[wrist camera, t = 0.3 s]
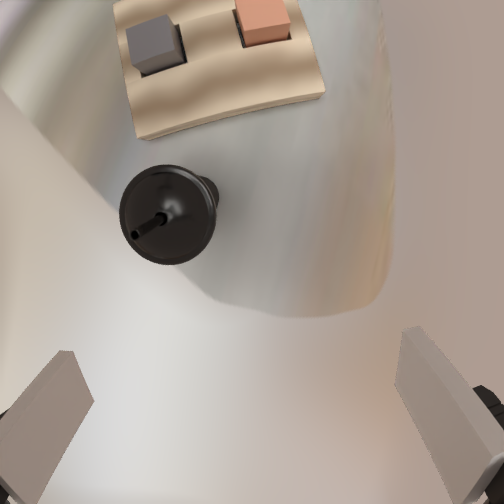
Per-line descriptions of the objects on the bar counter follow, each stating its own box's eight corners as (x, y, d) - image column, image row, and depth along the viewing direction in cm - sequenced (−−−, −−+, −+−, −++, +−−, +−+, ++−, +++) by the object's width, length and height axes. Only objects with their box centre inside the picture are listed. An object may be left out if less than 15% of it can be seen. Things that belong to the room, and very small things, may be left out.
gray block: (141, 44, 29) (125, 29, 24) (178, 31, 29) (167, 13, 24) (147, 76, 30) (131, 64, 25) (185, 63, 30) (174, 49, 25)
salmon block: (236, 16, 28) (233, -5, 23) (276, 8, 28) (278, -12, 23) (246, 48, 29) (244, 31, 25) (286, 40, 29) (290, 22, 24)
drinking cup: (202, 149, 35) (140, 137, 16) (244, 201, 37) (229, 245, 17) (153, 192, 37) (57, 227, 17) (194, 242, 38) (135, 321, 19)
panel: (124, 16, 30) (112, 4, 26) (279, -25, 29) (280, -41, 25) (149, 140, 35) (136, 138, 31) (318, 98, 33) (325, 91, 29)
